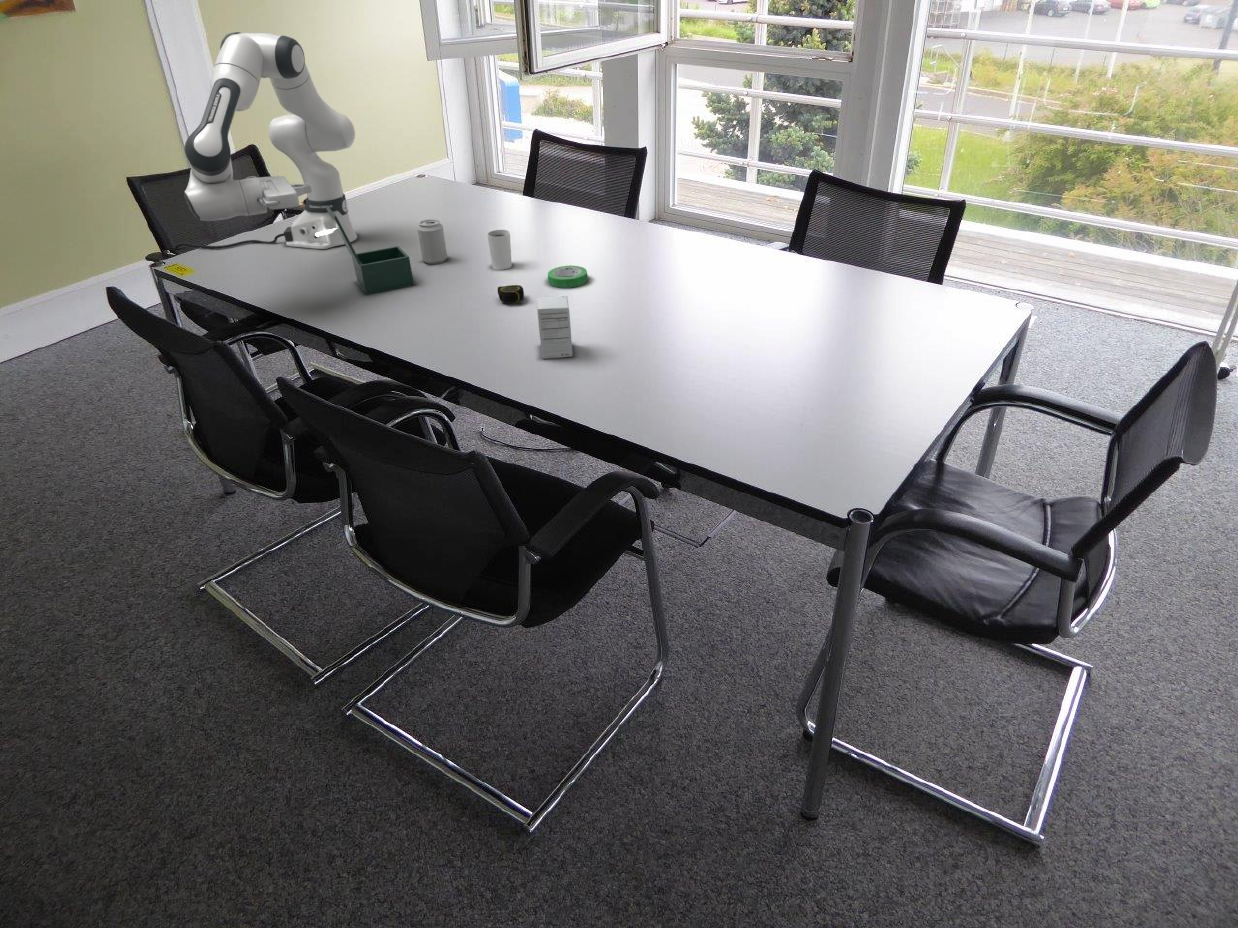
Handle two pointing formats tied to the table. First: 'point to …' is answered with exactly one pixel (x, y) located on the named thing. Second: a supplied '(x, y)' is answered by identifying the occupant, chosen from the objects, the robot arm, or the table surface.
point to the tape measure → (511, 293)
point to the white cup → (500, 249)
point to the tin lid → (343, 235)
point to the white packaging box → (554, 326)
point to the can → (432, 241)
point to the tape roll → (560, 281)
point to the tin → (383, 270)
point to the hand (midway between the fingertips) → (310, 187)
